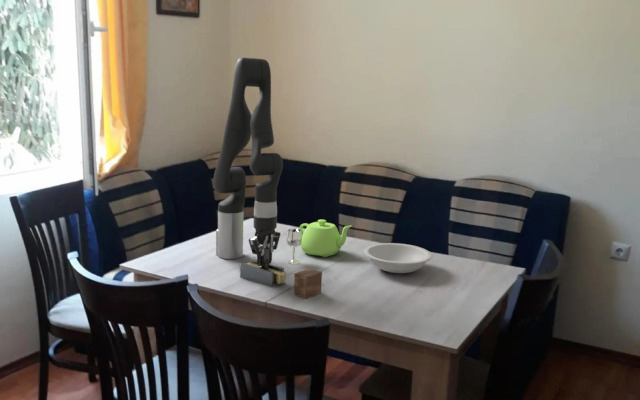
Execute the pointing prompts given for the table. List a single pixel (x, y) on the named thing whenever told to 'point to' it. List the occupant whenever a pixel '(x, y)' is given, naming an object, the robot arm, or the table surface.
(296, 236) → the wineglass
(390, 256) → the soup bowl
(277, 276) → the tube
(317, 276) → the brown wooden cube
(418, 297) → the table surface
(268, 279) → the sleeve
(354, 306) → the table surface
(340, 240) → the teapot
